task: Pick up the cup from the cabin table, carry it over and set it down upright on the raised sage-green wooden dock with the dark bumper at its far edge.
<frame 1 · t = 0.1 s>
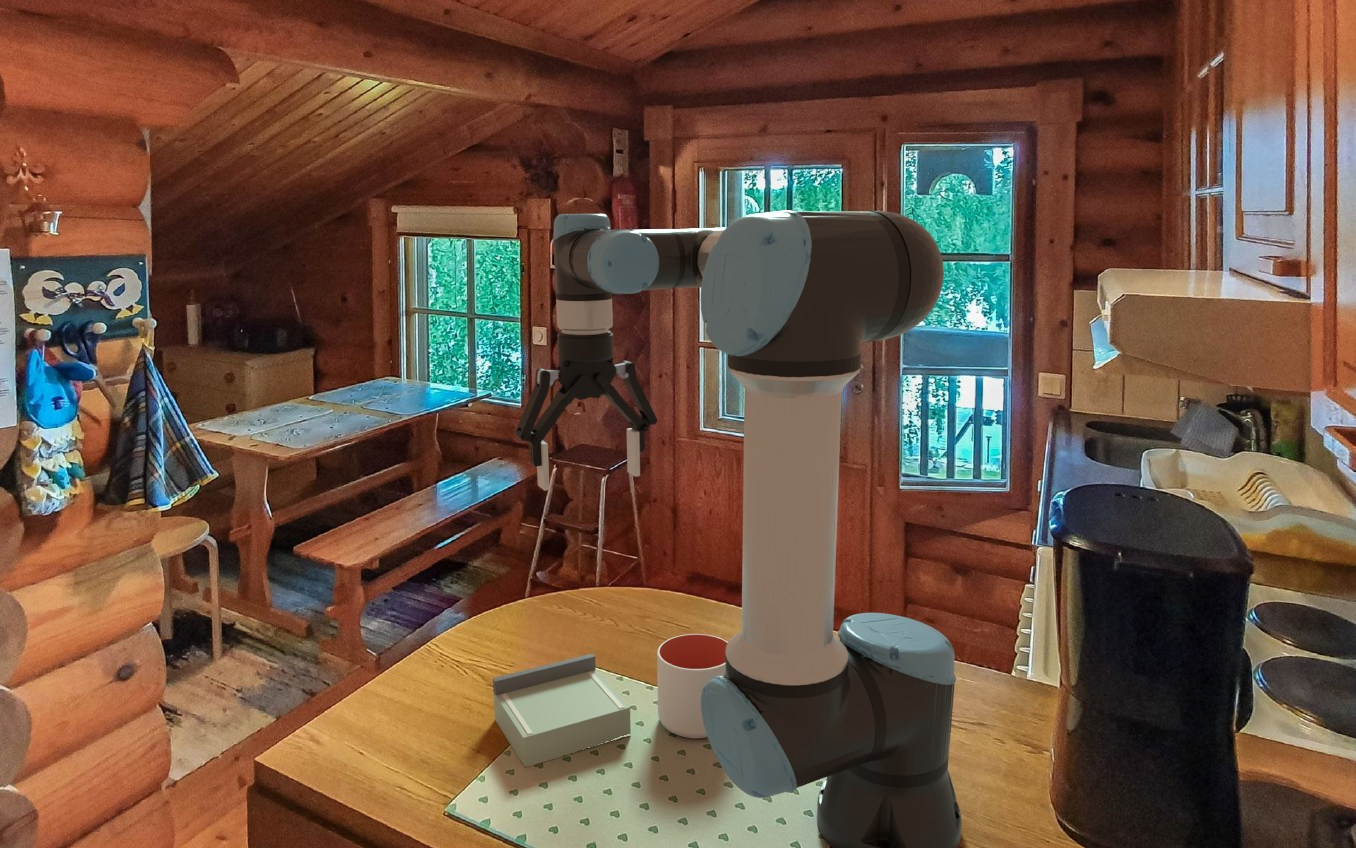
hand: (589, 481, 128), 28 cm above the kitchen counter, fingers open, 13 cm apart
cup: (696, 722, 119), on the kitchen counter
dock: (561, 727, 117), on the kitchen counter
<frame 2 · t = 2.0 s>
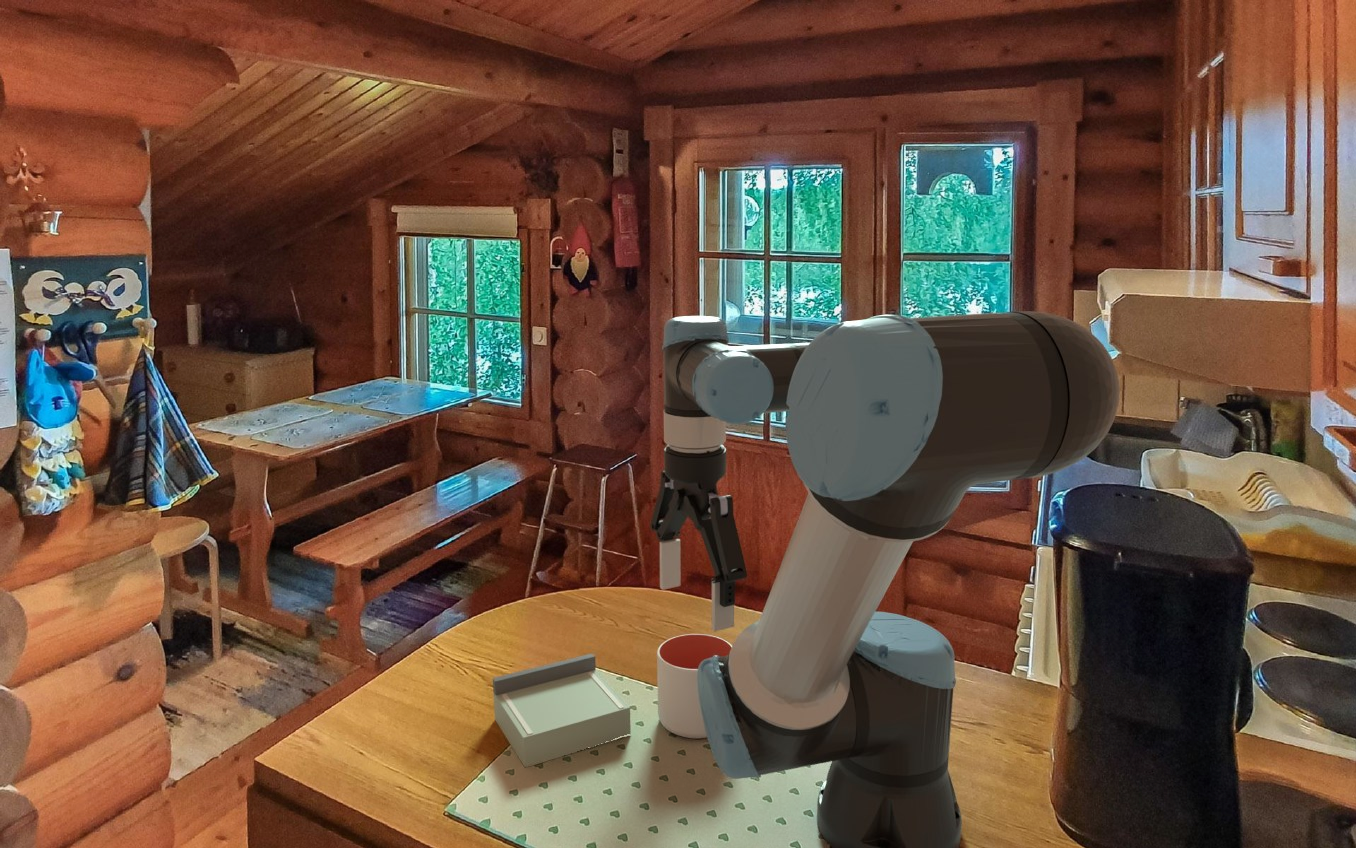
hand: (695, 606, 115), 16 cm above the kitchen counter, fingers open, 13 cm apart
nothing on the kitchen counter moved.
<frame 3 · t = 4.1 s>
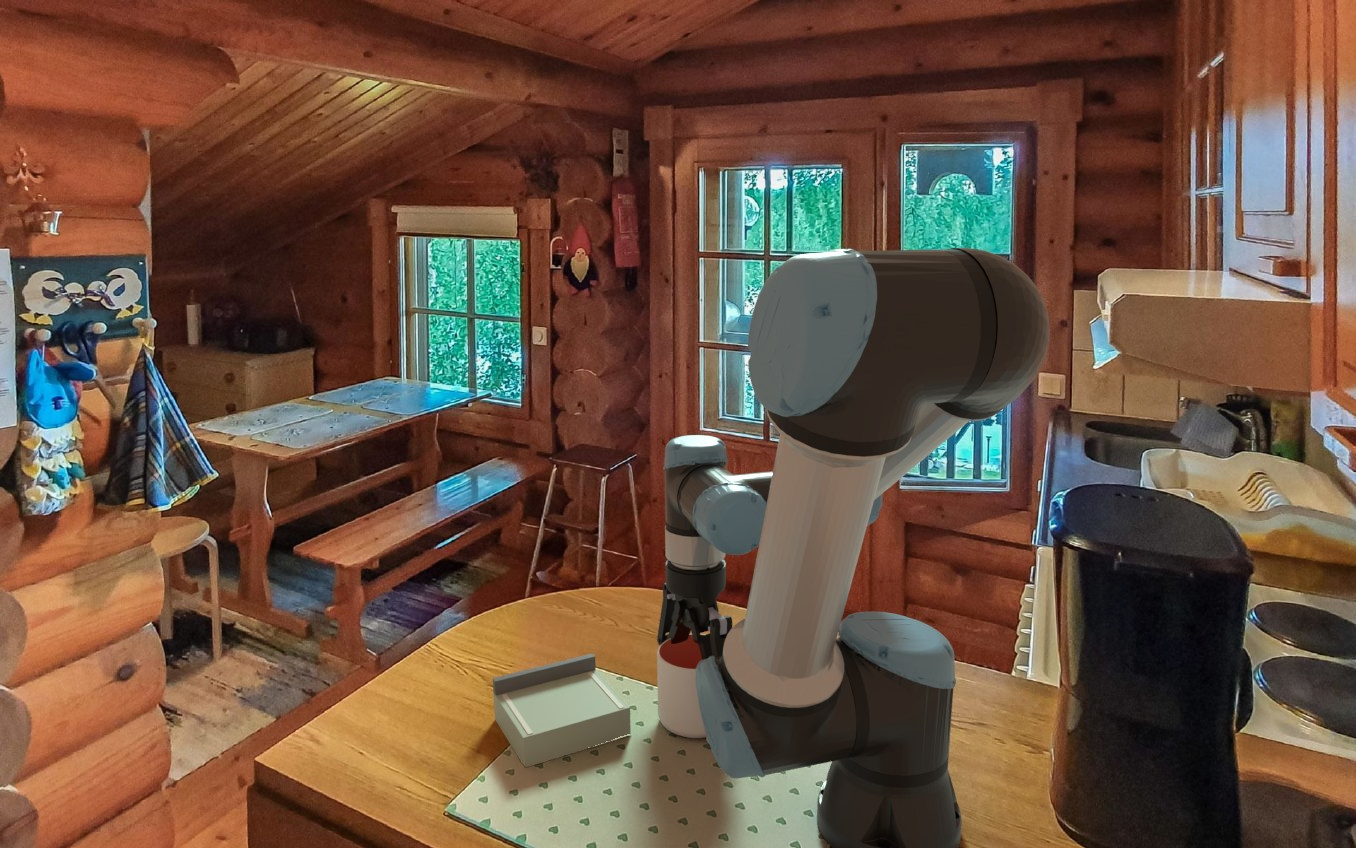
hand: (696, 719, 118), 0 cm above the kitchen counter, fingers closed on cup, 10 cm apart
cup: (696, 722, 119), on the kitchen counter, touching gripper
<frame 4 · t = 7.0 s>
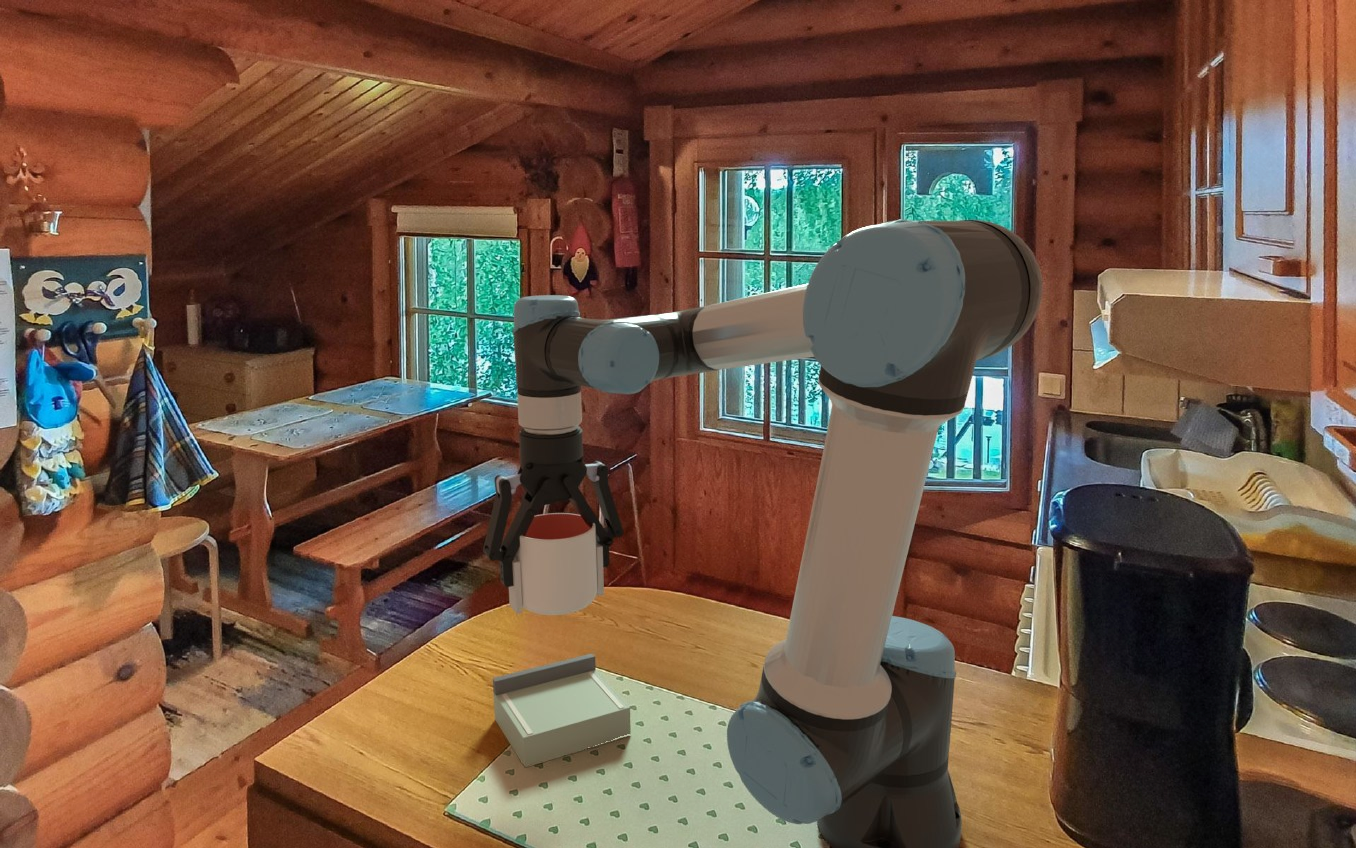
hand: (557, 600, 113), 18 cm above the kitchen counter, fingers closed on cup, 10 cm apart
cup: (557, 603, 113), point 17 cm above the kitchen counter, touching gripper
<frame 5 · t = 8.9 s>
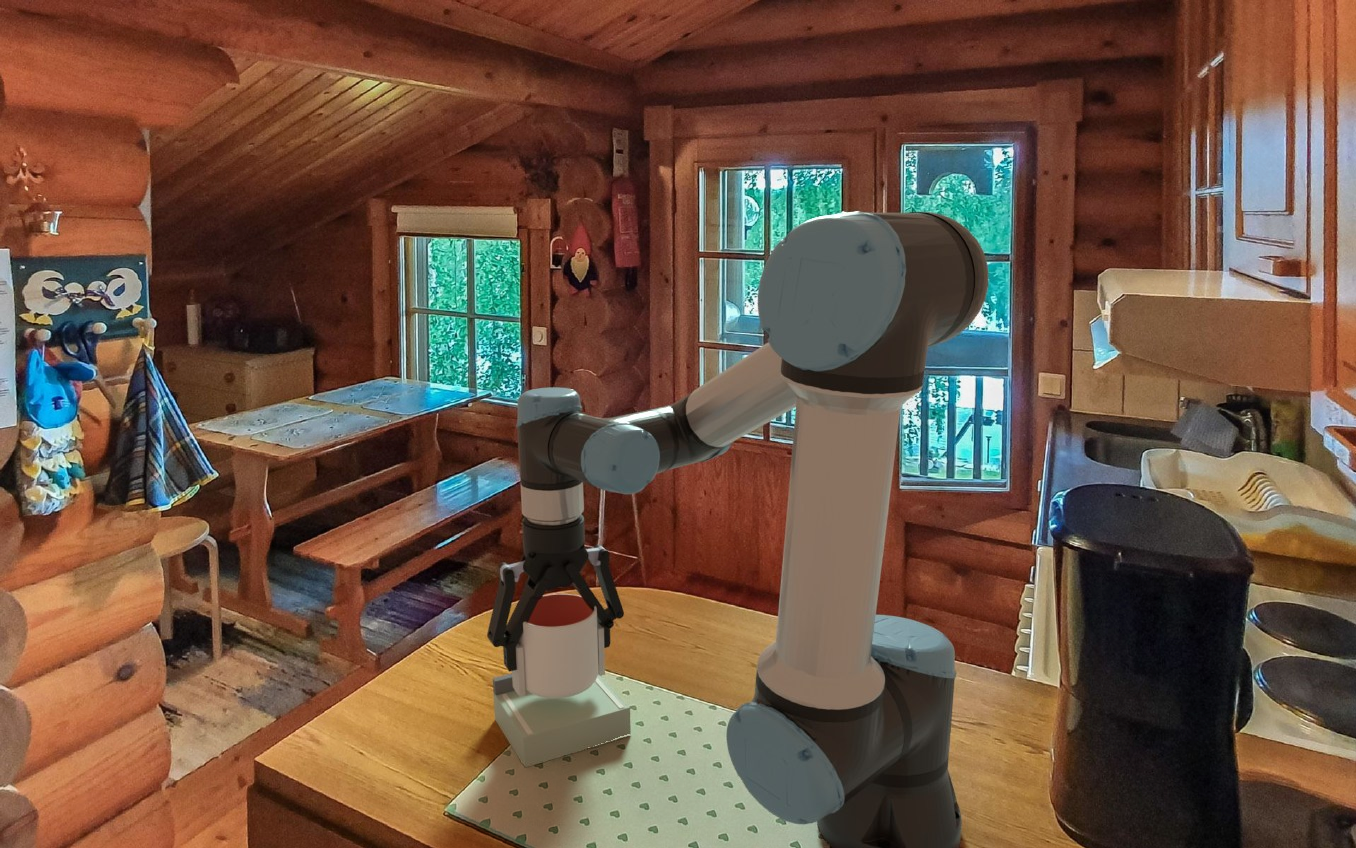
hand: (559, 680, 116), 7 cm above the kitchen counter, fingers closed on cup, 10 cm apart
cup: (559, 683, 116), point 6 cm above the kitchen counter, touching gripper
when the fingers open (6 cm above the kitchen counter, at t = 10.1 s): cup stays where it is, resting on dock.
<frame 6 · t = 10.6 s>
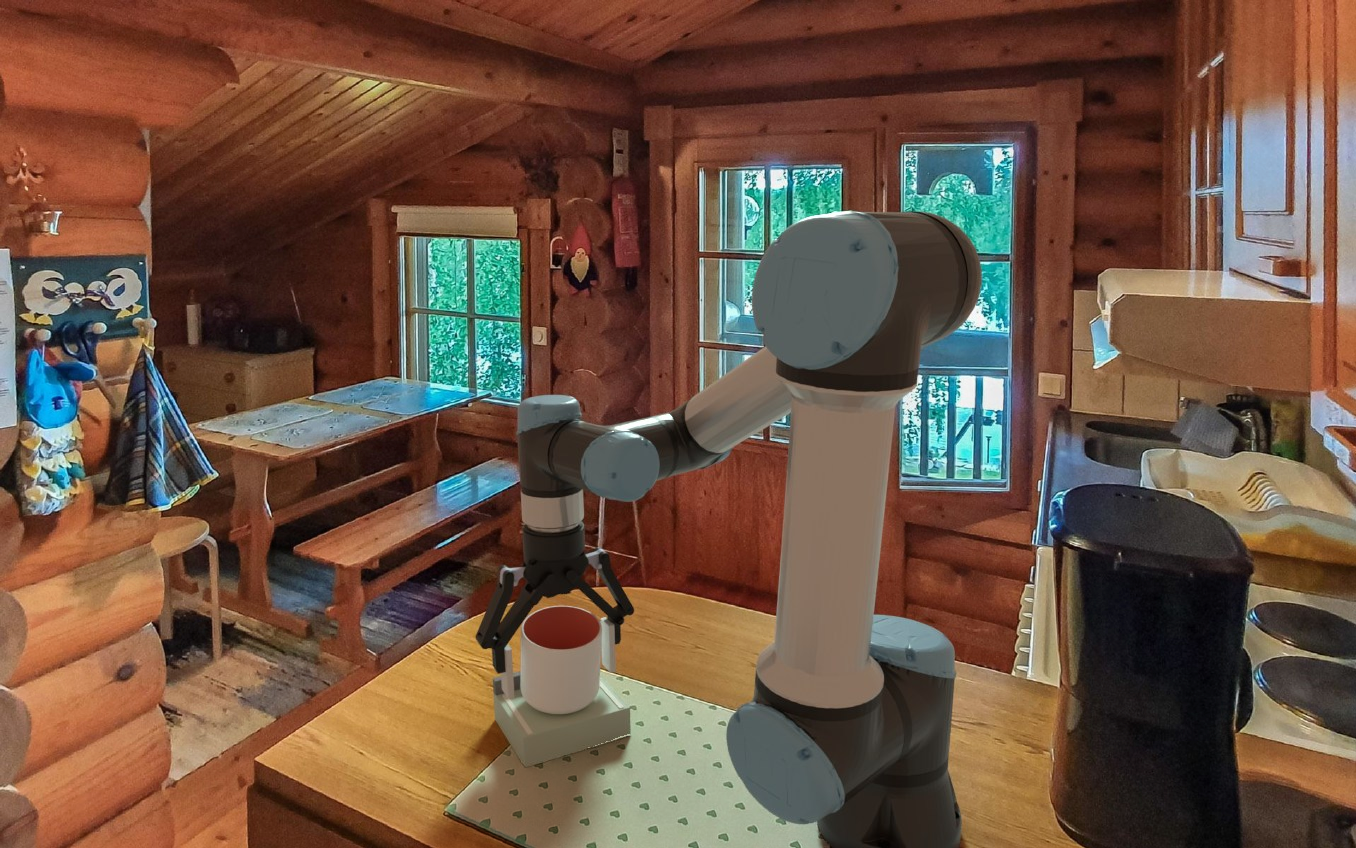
hand: (559, 680, 116), 7 cm above the kitchen counter, fingers open, 13 cm apart
cup: (559, 695, 116), point 5 cm above the kitchen counter, touching dock
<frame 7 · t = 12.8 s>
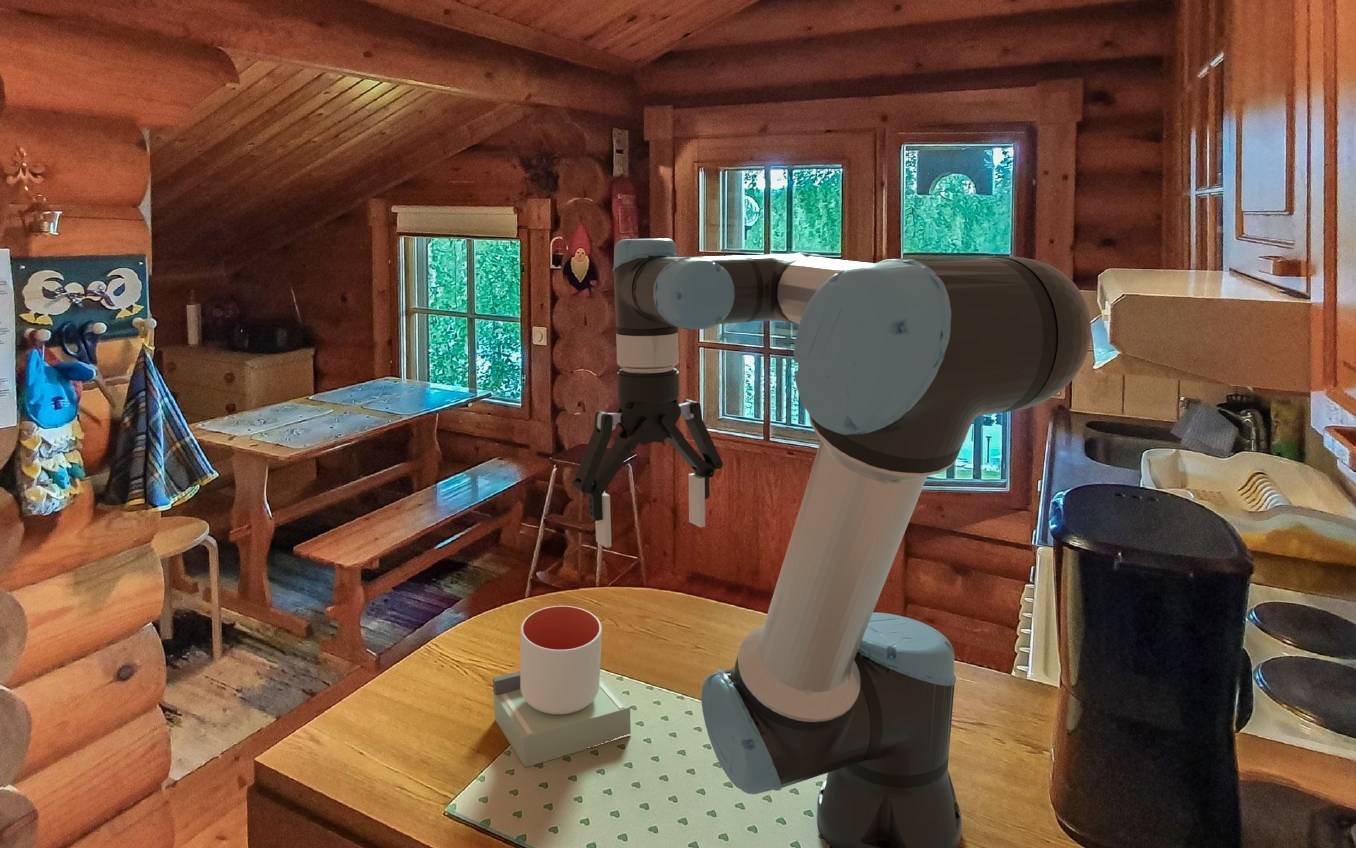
hand: (651, 534, 115), 25 cm above the kitchen counter, fingers open, 13 cm apart
nothing on the kitchen counter moved.
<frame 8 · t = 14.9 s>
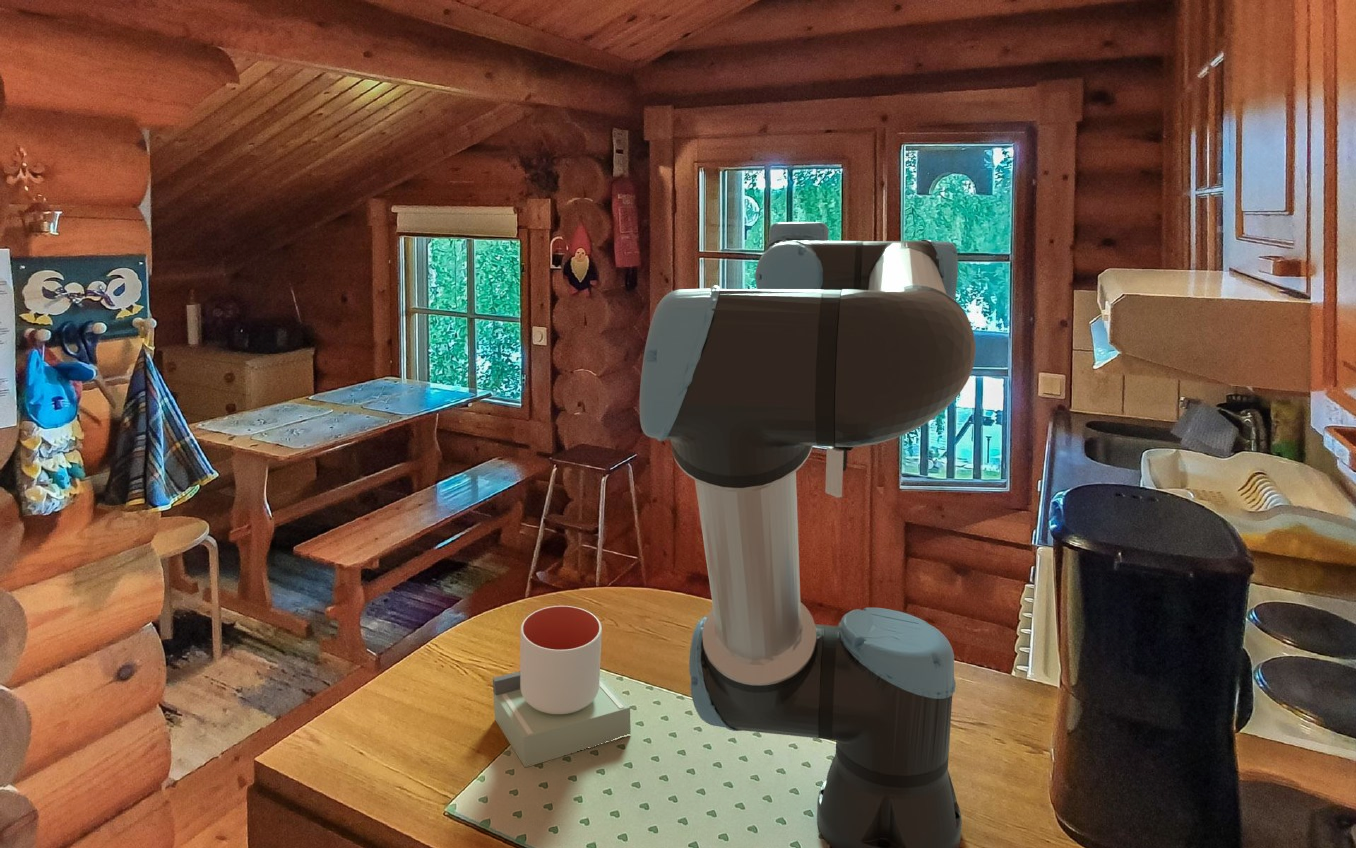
hand: (792, 502, 121), 27 cm above the kitchen counter, fingers open, 13 cm apart
nothing on the kitchen counter moved.
at the end: cup inside the target area on the dock (0.2 cm from its centre), point 4.6 cm above the dock's base; cup tilted 9°; the gripper is holding nothing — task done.
